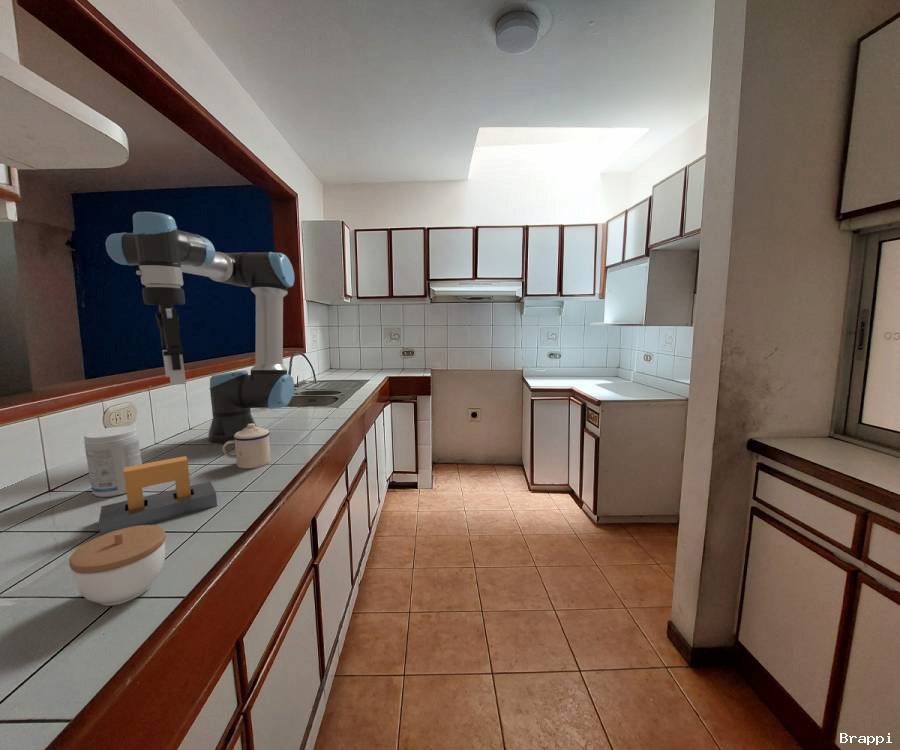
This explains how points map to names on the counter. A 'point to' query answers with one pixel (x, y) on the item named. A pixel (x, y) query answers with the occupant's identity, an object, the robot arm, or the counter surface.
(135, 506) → the orange clip
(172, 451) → the counter surface
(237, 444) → the teacup with lid
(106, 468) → the supplement tub
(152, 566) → the lidded jar
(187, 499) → the graphite rail
